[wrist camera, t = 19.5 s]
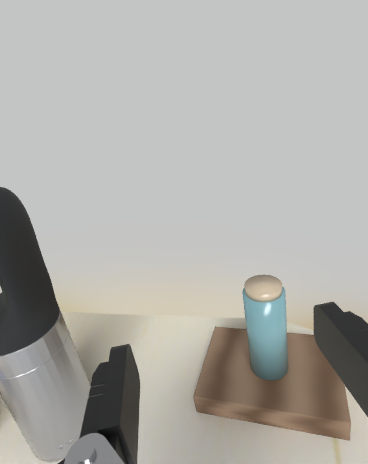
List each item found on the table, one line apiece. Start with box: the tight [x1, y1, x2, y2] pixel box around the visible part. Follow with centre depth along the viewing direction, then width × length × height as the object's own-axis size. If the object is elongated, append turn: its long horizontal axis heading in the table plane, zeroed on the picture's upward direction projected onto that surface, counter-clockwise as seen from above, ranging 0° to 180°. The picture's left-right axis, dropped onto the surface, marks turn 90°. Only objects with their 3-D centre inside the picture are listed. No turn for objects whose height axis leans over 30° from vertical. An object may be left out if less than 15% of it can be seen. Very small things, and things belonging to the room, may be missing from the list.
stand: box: [194, 327, 351, 440], centre depth 42 cm, size 18×13×3 cm
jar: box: [243, 275, 288, 380], centre depth 39 cm, size 5×5×13 cm
